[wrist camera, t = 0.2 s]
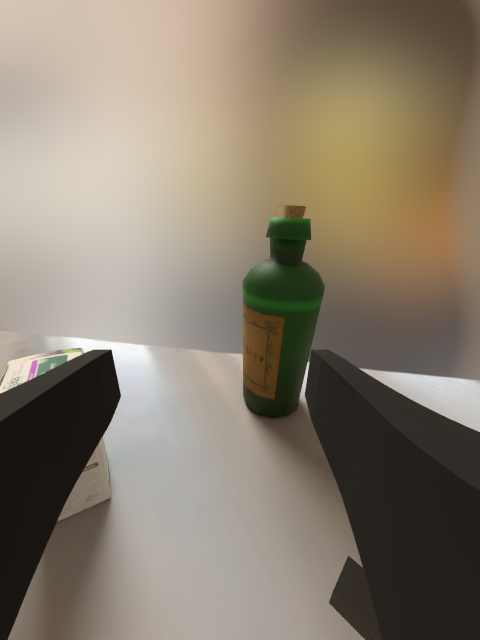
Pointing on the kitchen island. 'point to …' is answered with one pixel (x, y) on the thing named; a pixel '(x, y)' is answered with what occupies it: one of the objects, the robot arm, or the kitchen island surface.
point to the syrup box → (96, 473)
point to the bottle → (280, 317)
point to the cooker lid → (356, 601)
